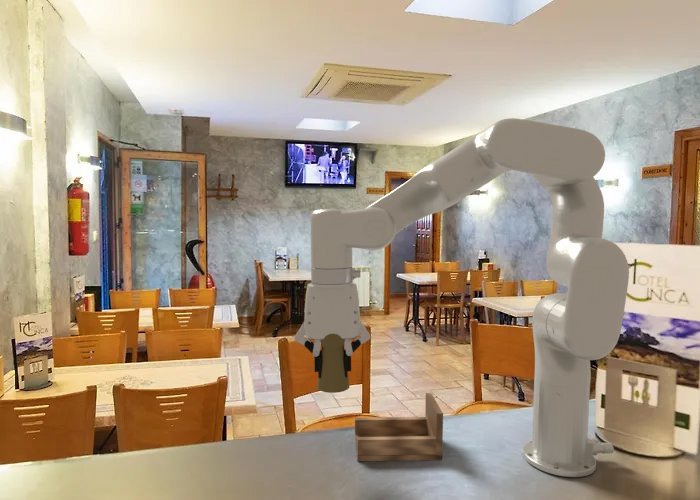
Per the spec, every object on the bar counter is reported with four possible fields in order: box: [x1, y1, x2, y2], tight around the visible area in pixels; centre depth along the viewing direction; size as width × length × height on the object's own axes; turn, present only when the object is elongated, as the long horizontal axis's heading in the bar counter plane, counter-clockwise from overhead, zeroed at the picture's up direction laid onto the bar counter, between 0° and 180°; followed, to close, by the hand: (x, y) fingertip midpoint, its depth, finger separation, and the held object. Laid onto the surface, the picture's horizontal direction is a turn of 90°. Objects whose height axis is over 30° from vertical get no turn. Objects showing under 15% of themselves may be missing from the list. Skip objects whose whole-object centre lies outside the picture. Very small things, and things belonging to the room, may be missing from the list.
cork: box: [316, 334, 350, 394], centre depth 89 cm, size 6×6×11 cm
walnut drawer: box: [354, 392, 444, 462], centre depth 95 cm, size 16×10×9 cm, turn 92°
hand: (332, 374), depth 89 cm, fingers closed on cork, 4 cm apart
